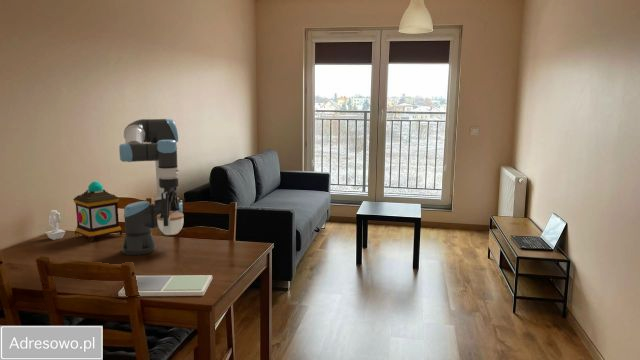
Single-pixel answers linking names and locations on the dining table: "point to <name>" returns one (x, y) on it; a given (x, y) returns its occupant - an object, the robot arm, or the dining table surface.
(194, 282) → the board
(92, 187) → the decorative lantern
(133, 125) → the robot arm
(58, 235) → the figurine
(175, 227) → the lidded jar
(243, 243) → the dining table surface
